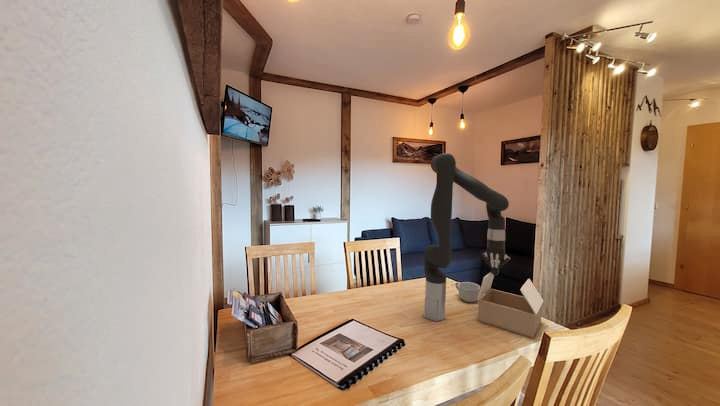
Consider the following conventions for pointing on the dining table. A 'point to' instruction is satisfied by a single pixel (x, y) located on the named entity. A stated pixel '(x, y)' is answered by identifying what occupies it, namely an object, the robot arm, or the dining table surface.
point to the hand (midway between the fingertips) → (495, 274)
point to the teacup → (468, 291)
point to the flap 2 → (532, 296)
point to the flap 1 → (486, 284)
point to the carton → (509, 313)
